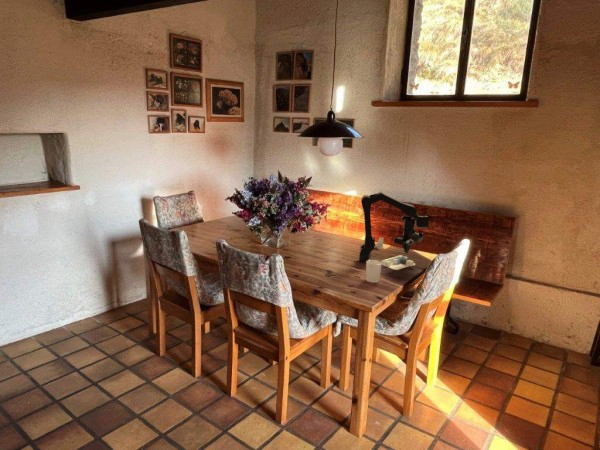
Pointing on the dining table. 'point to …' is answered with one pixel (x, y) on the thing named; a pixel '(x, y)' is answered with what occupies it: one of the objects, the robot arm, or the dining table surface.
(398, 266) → the backplate with stepped blocks
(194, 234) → the dining table surface
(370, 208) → the robot arm
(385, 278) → the dining table surface
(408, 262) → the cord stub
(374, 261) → the white cup
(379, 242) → the architectural model
